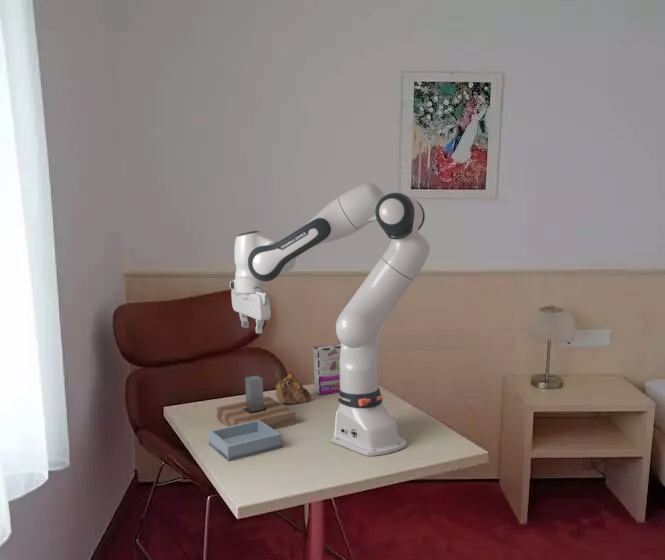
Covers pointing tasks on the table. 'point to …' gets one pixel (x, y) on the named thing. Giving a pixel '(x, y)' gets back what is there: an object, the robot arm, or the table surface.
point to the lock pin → (254, 394)
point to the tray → (244, 440)
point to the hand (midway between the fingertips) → (251, 330)
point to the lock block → (257, 414)
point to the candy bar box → (327, 368)
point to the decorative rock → (291, 391)
